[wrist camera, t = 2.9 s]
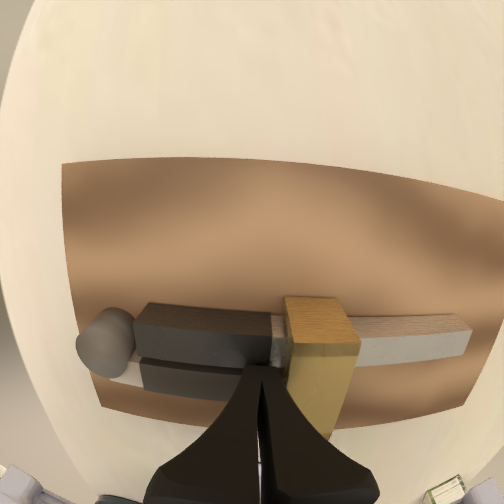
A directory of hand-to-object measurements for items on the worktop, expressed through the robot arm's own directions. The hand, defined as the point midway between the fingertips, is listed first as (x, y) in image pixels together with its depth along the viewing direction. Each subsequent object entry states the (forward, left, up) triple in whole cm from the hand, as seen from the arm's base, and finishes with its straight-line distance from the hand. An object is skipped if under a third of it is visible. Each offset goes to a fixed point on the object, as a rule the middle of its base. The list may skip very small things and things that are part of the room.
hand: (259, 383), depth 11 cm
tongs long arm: (+1, -3, -3) cm, 4 cm away
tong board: (+1, -3, -4) cm, 5 cm away
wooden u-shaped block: (0, -2, -3) cm, 4 cm away
